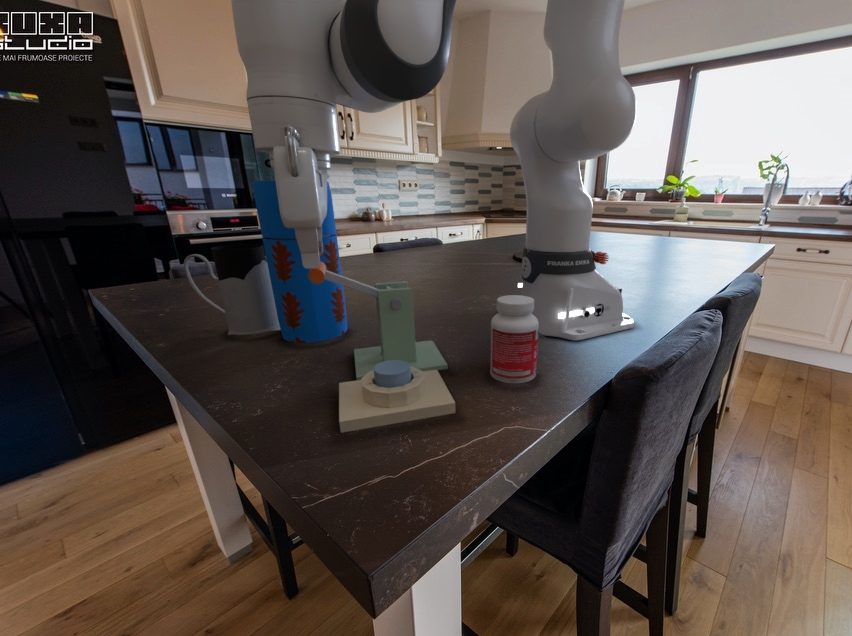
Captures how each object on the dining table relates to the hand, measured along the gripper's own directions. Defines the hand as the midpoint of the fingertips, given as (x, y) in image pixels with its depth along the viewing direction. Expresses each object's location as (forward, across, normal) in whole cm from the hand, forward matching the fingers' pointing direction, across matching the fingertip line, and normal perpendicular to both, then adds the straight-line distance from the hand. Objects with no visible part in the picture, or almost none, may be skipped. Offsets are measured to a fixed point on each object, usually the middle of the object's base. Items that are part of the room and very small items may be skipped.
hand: (314, 261), depth 49 cm
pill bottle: (+16, -9, -23) cm, 29 cm away
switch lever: (+5, 0, -5) cm, 6 cm away
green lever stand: (+15, 0, -9) cm, 18 cm away
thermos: (+16, +17, +3) cm, 23 cm away
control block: (+15, -12, -7) cm, 21 cm away
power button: (+12, -12, -7) cm, 18 cm away
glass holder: (+16, +24, +16) cm, 33 cm away
